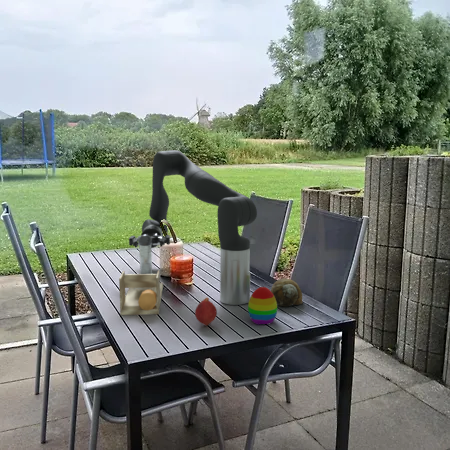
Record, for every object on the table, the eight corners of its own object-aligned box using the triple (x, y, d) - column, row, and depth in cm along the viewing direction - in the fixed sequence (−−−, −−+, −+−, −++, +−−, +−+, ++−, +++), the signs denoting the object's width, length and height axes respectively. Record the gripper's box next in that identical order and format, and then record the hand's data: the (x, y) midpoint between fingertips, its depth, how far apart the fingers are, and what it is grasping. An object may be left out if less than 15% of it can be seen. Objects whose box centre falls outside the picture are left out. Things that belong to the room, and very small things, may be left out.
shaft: (155, 277, 158) (154, 233, 155) (152, 289, 145) (151, 241, 142) (137, 278, 157) (136, 233, 155) (133, 290, 144) (132, 241, 142)
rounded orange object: (160, 299, 136) (159, 303, 132) (147, 308, 136) (145, 313, 132) (150, 286, 135) (148, 290, 131) (136, 296, 135) (134, 300, 132)
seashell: (280, 311, 137) (281, 285, 135) (264, 301, 145) (264, 277, 144) (310, 305, 142) (311, 280, 141) (293, 296, 150) (293, 273, 149)
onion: (197, 330, 122) (197, 301, 120) (193, 322, 127) (193, 295, 126) (218, 328, 123) (218, 300, 122) (213, 320, 129) (213, 293, 127)
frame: (162, 286, 159) (162, 256, 158) (158, 314, 133) (157, 277, 132) (131, 287, 158) (130, 256, 157) (120, 315, 132) (119, 278, 131)
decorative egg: (262, 314, 134) (263, 281, 133) (282, 322, 128) (283, 287, 126) (241, 320, 129) (242, 286, 127) (262, 329, 123) (263, 293, 121)
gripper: (132, 226, 170) (126, 233, 154) (170, 225, 171) (169, 232, 155) (133, 246, 171) (127, 255, 155) (171, 245, 172) (169, 254, 156)
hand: (148, 244), depth 155 cm, fingers open, 8 cm apart
